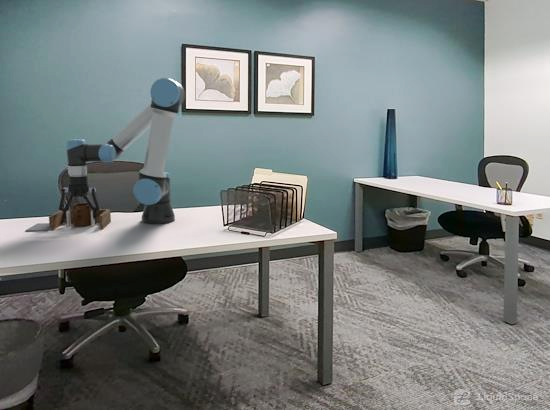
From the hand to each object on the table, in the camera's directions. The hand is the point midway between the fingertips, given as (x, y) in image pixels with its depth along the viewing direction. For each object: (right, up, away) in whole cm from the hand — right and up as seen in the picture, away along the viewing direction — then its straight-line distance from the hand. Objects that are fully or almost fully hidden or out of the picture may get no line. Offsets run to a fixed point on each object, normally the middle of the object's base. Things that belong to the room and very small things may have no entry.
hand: (81, 225), depth 192 cm
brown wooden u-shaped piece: (0, 0, 0) cm, 0 cm away
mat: (-15, -1, -4) cm, 16 cm away
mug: (0, 0, 0) cm, 0 cm away
